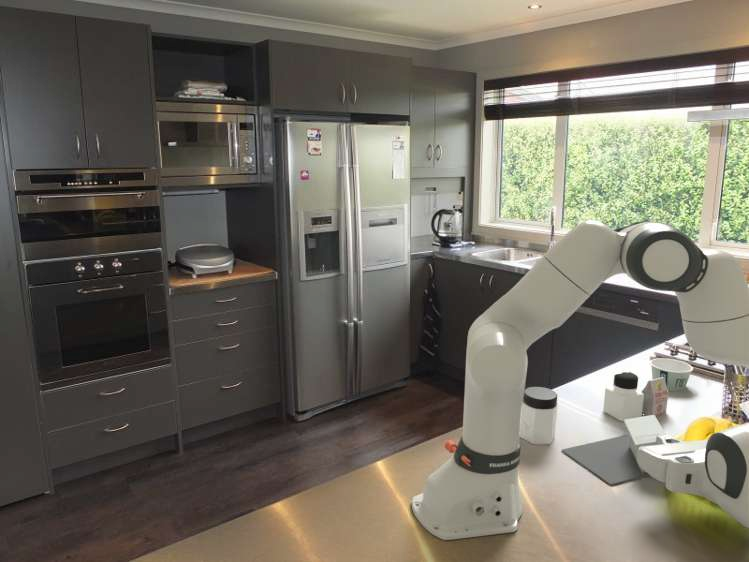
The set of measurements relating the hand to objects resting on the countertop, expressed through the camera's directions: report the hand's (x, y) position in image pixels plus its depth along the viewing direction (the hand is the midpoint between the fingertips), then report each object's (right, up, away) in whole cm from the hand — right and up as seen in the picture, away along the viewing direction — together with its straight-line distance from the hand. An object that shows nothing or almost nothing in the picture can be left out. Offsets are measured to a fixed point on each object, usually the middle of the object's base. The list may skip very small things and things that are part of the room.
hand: (661, 438), depth 127 cm
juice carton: (+15, -2, +36) cm, 39 cm away
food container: (+29, +2, +55) cm, 62 cm away
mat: (-4, -8, +11) cm, 14 cm away
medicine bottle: (+6, -3, +34) cm, 35 cm away
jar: (-21, -5, +21) cm, 30 cm away
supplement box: (0, -5, +3) cm, 5 cm away
